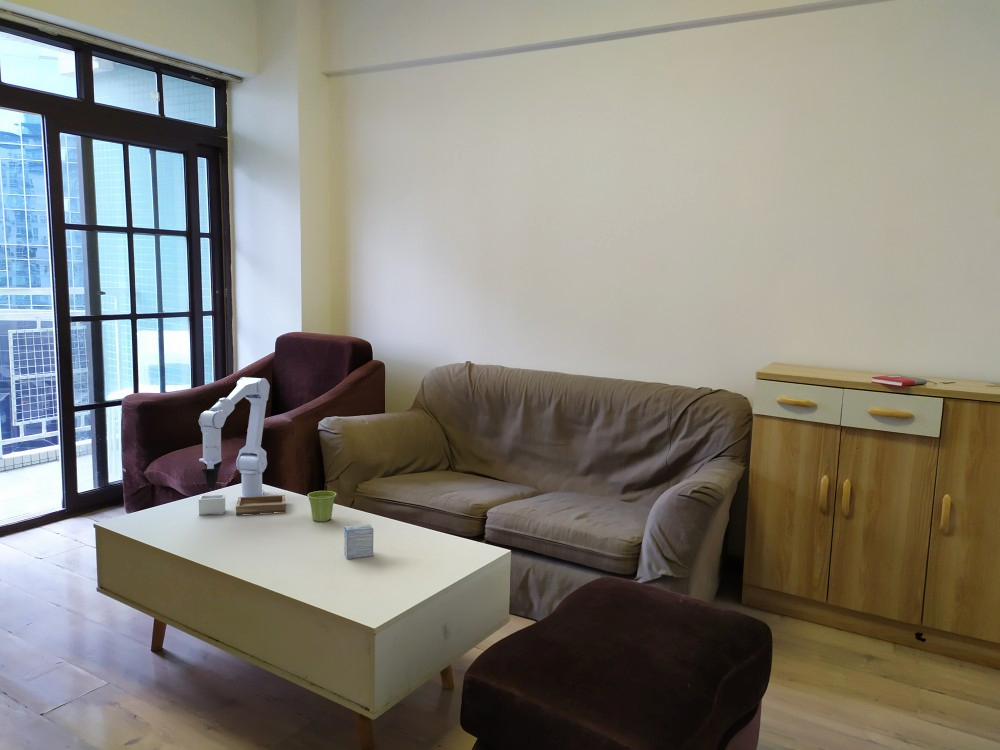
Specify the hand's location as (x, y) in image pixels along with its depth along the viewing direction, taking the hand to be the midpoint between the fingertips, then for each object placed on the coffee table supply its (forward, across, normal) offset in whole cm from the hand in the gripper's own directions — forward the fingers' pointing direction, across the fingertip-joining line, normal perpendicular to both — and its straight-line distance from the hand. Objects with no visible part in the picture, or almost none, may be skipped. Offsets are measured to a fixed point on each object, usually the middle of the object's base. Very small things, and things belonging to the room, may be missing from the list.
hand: (212, 485), depth 252 cm
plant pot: (+10, +15, +36) cm, 40 cm away
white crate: (+10, 0, 0) cm, 10 cm away
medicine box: (+10, +52, +44) cm, 69 cm away
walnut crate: (+9, -1, +16) cm, 19 cm away
